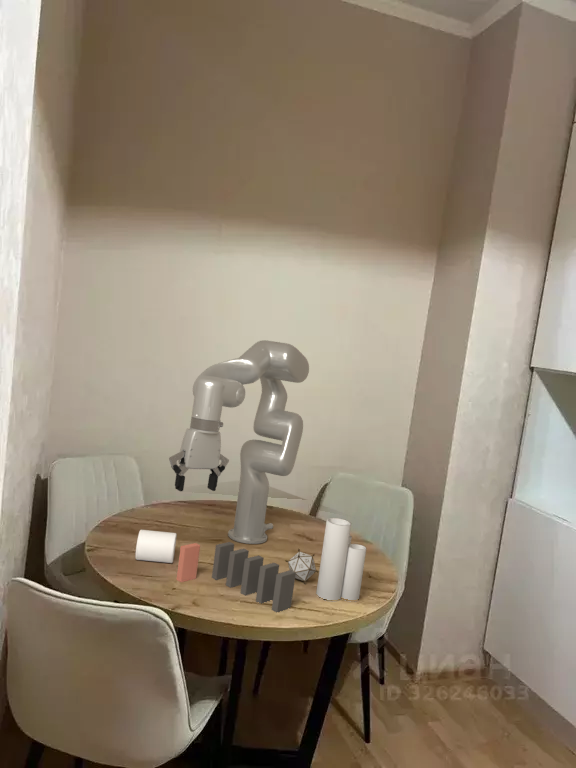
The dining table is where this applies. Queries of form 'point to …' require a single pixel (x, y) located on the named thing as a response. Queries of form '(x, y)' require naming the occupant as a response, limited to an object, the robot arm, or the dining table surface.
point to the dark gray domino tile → (236, 567)
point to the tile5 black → (266, 582)
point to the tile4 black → (251, 575)
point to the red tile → (188, 562)
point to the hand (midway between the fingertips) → (195, 489)
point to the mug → (155, 546)
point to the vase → (340, 563)
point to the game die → (302, 565)
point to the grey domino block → (283, 591)
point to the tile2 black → (221, 560)
